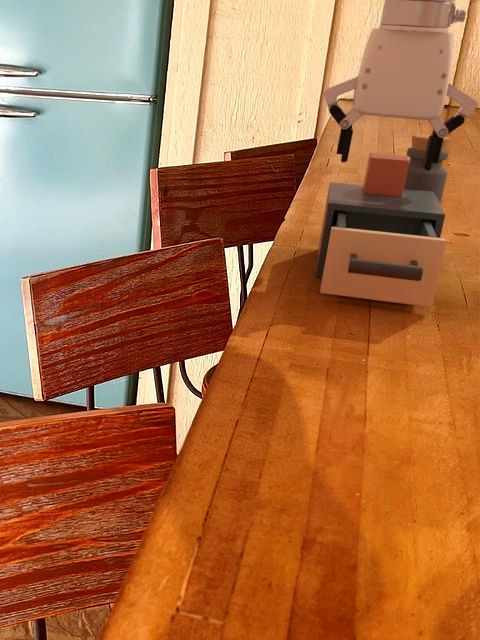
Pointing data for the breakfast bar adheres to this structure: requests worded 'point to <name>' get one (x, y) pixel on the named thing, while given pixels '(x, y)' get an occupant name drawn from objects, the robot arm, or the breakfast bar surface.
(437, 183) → the bottle
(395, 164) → the block
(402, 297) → the drawer
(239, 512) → the breakfast bar surface
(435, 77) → the robot arm
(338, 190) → the cabinet
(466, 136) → the breakfast bar surface
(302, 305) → the breakfast bar surface
